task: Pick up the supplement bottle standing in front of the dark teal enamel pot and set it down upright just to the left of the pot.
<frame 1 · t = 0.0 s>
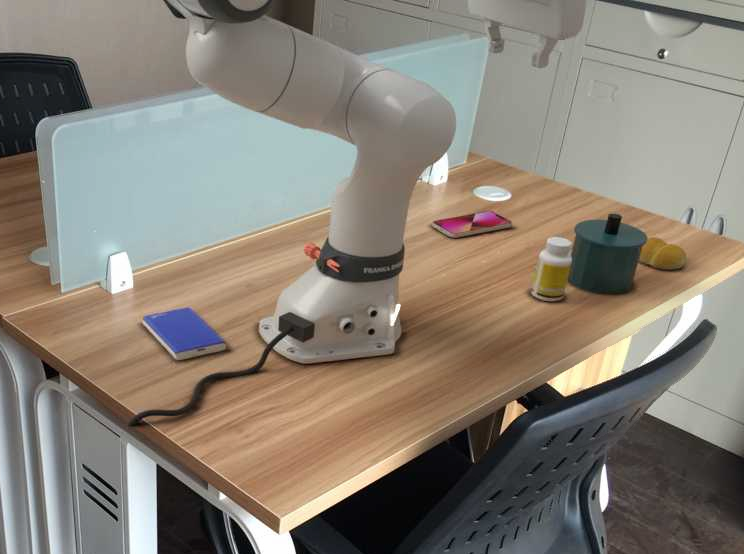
hand: (516, 59, 137), 39 cm above the table, tool pointing down, fingers open, 8 cm apart
pot lid: (610, 235, 163), point 8 cm above the table, touching pot
bread roll: (657, 262, 176), on the table
smartphone: (471, 227, 187), on the table
pot: (598, 280, 168), on the table
hard drive: (183, 338, 144), on the table
supplement bottle: (546, 296, 162), on the table
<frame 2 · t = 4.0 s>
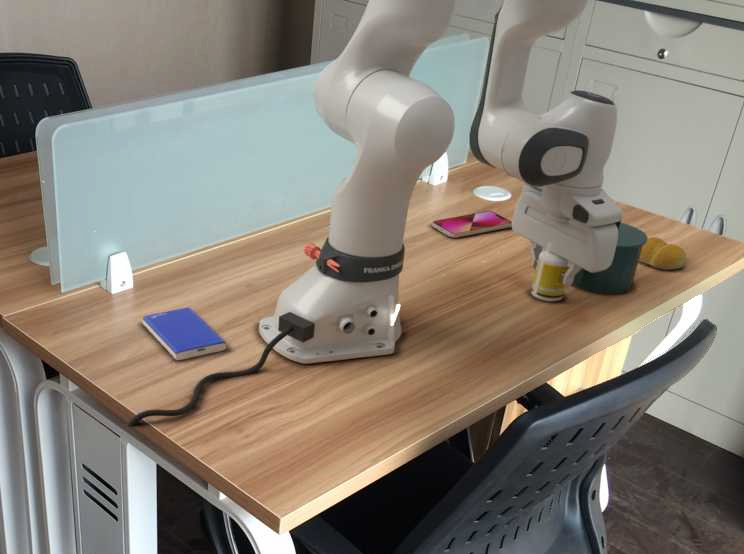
hand: (551, 275, 160), 4 cm above the table, tool pointing down, fingers closed on supplement bottle, 5 cm apart
supplement bottle: (546, 296, 162), on the table, touching gripper
everything else where it was.
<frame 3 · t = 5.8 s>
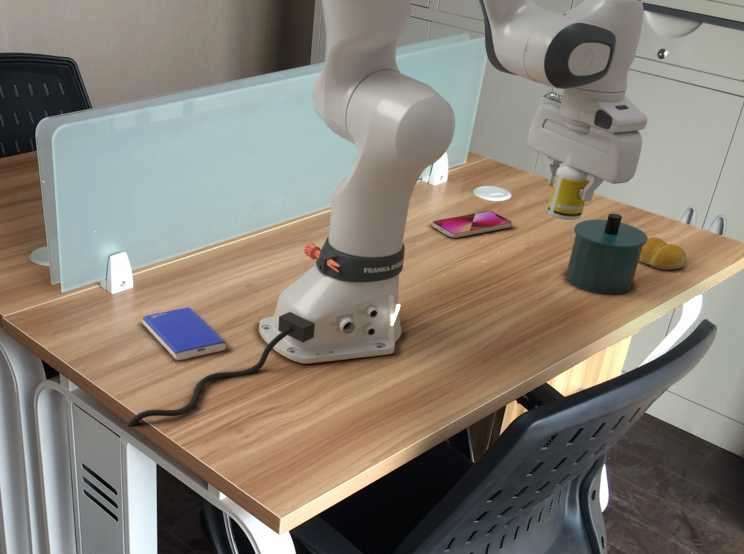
hand: (569, 193, 152), 18 cm above the table, tool pointing down, fingers closed on supplement bottle, 5 cm apart
supplement bottle: (563, 216, 154), point 14 cm above the table, touching gripper
everything else where it was.
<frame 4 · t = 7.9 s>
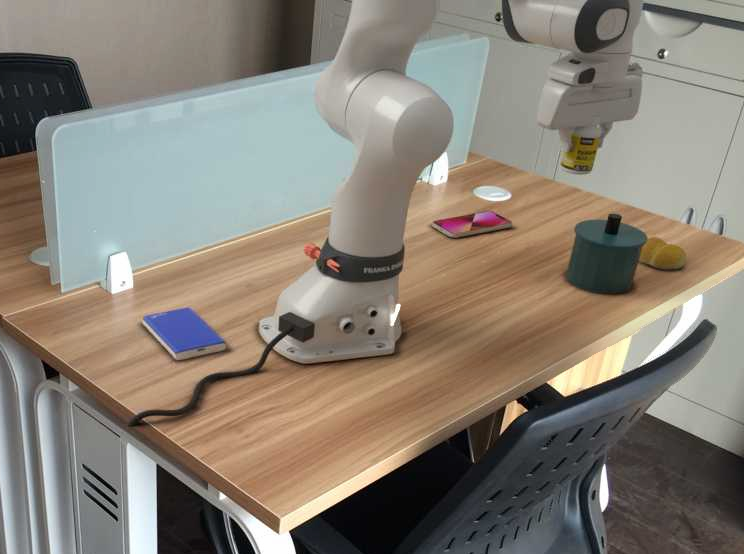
hand: (580, 149, 164), 20 cm above the table, tool pointing down, fingers closed on supplement bottle, 5 cm apart
supplement bottle: (575, 171, 166), point 17 cm above the table, touching gripper
everything else where it was.
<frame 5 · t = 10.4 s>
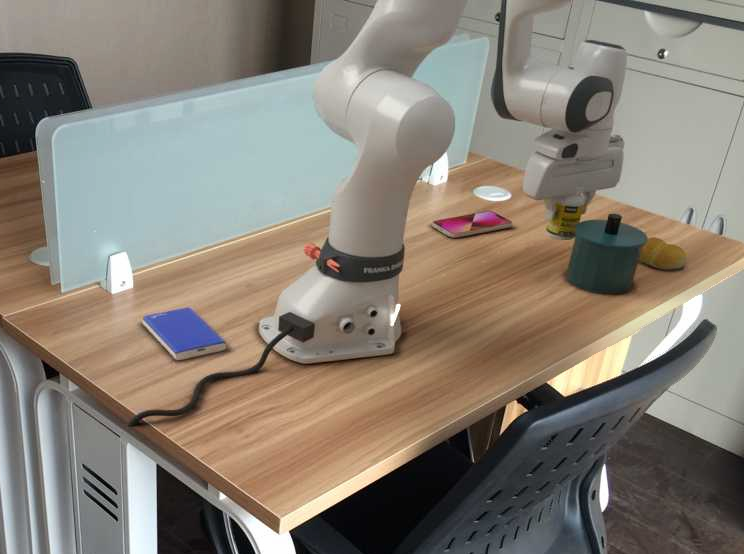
hand: (564, 216, 171), 8 cm above the table, tool pointing down, fingers closed on supplement bottle, 5 cm apart
supplement bottle: (560, 236, 173), point 4 cm above the table, touching gripper
everything else where it was.
when the fingers open (4 cm above the table, at t = 12.1 s): supplement bottle stays where it is, on the table.
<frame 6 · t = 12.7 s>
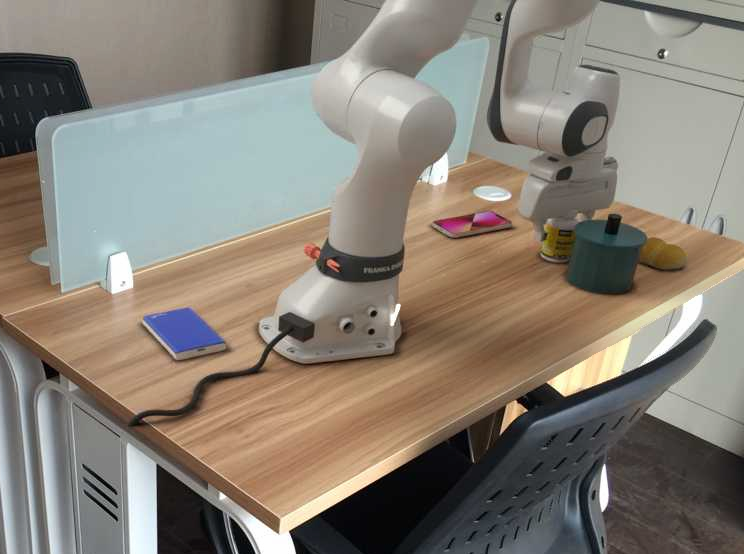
hand: (559, 236, 174), 4 cm above the table, tool pointing down, fingers open, 8 cm apart
supplement bottle: (554, 258, 176), on the table
everything else where it was.
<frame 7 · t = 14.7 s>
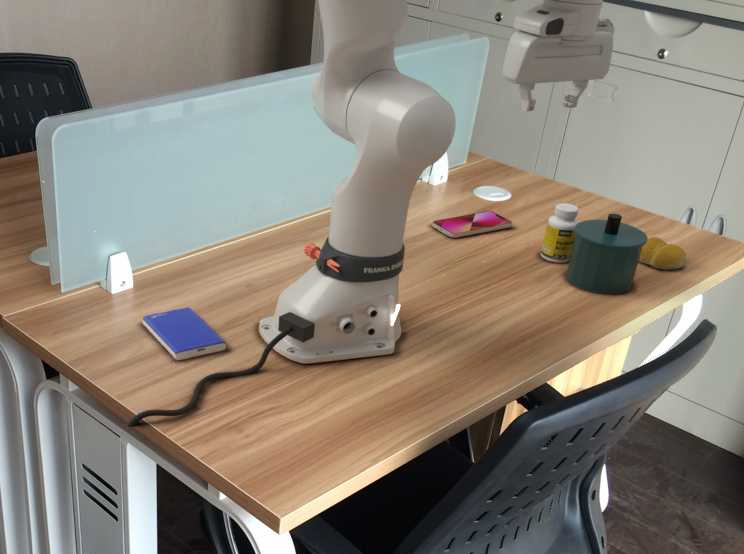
hand: (548, 108, 157), 28 cm above the table, tool pointing down, fingers open, 8 cm apart
nothing on the table moved.
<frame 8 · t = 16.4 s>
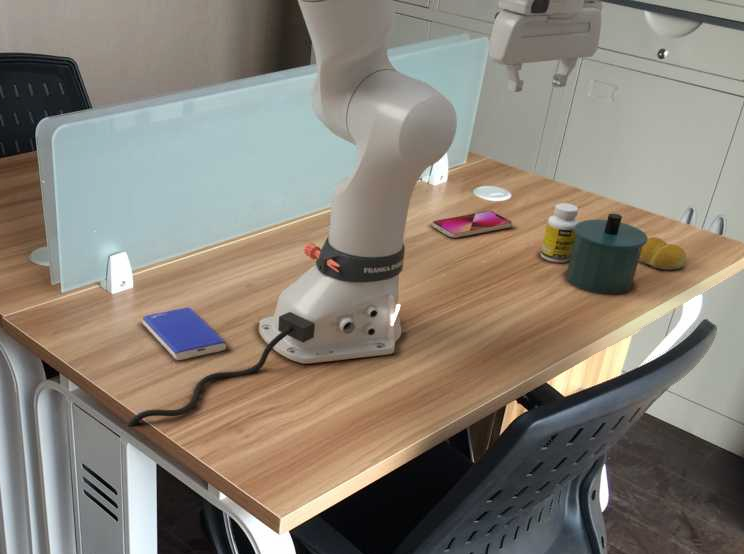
hand: (536, 88, 154), 31 cm above the table, tool pointing down, fingers open, 8 cm apart
nothing on the table moved.
at the end: supplement bottle inside the target area on the table beside the pot (0.4 cm from its centre), on the table; supplement bottle tilted 0°; the gripper is holding nothing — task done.
